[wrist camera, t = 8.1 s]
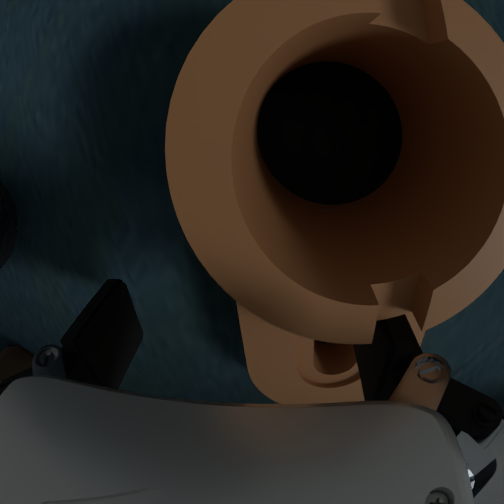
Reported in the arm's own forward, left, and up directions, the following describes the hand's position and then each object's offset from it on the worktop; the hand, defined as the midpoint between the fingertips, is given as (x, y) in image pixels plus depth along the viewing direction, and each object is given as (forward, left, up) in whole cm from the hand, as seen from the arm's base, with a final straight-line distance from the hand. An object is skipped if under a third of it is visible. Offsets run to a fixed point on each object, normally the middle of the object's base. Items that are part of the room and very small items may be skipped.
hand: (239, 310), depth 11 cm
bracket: (+1, -4, -3) cm, 5 cm away
